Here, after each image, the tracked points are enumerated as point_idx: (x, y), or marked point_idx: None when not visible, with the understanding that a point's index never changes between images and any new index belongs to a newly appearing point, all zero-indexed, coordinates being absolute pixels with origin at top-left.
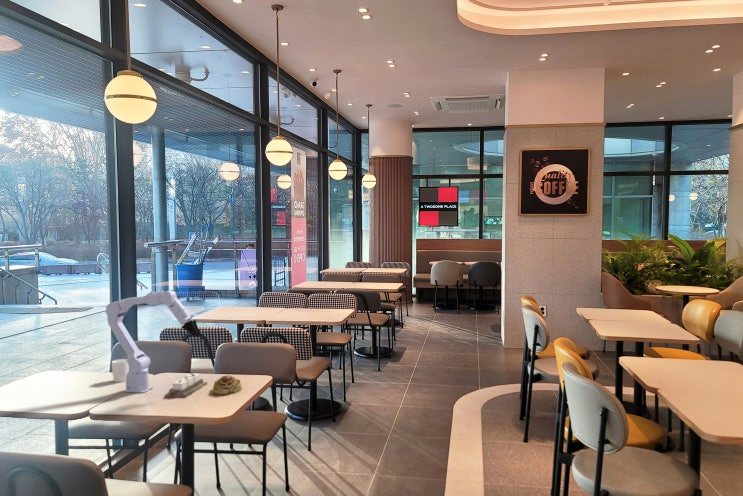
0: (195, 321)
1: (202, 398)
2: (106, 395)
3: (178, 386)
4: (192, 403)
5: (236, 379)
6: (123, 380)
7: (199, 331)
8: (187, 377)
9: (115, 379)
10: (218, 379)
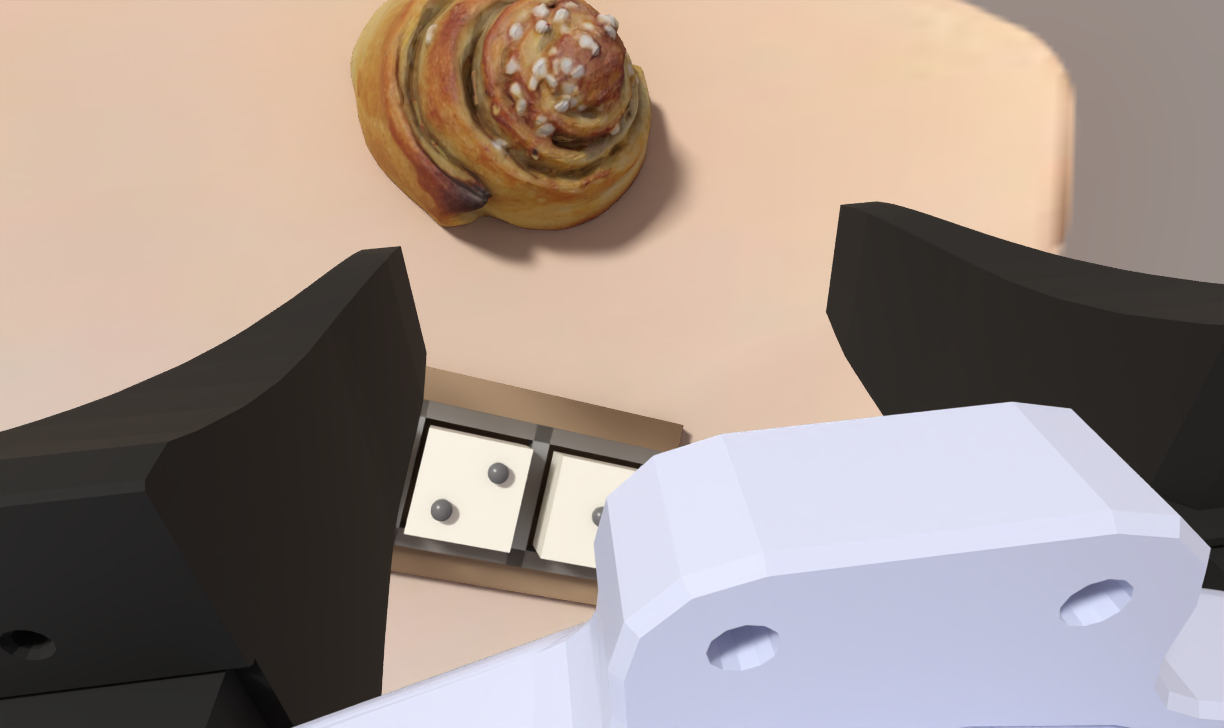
0: (195, 428)
1: (705, 278)
2: None
3: None
4: (814, 325)
5: None
6: None
7: (379, 267)
8: (430, 493)
9: None
10: (541, 144)
